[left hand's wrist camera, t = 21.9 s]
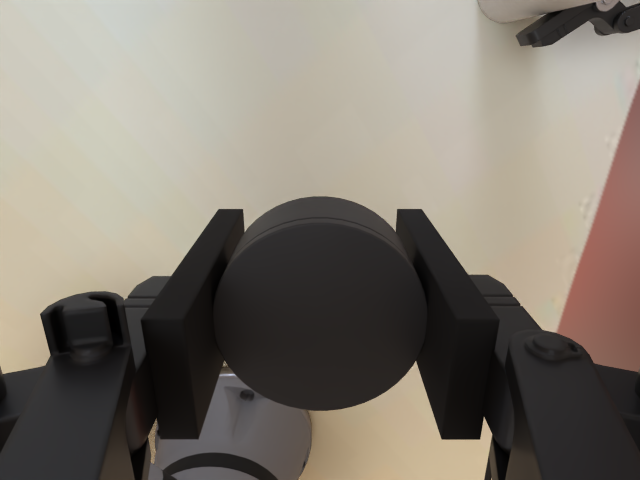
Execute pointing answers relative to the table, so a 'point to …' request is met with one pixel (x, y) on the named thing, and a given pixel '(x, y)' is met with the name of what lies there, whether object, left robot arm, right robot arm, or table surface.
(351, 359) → the lid
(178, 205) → the table surface
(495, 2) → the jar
